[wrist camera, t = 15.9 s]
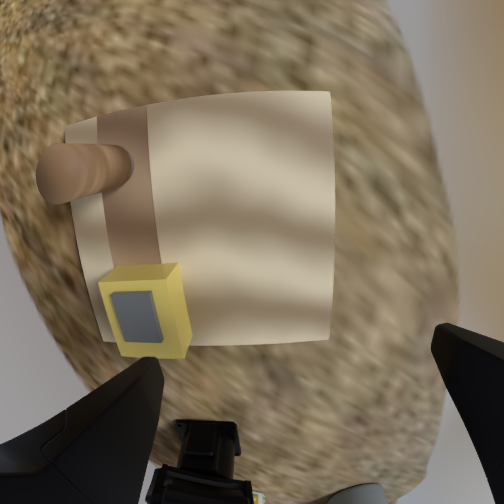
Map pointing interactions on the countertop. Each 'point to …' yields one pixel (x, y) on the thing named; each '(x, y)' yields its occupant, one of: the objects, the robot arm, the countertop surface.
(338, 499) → the water bottle
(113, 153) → the wooden tool handle
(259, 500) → the supplement bottle
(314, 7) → the countertop surface
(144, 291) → the block
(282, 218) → the plywood panel
